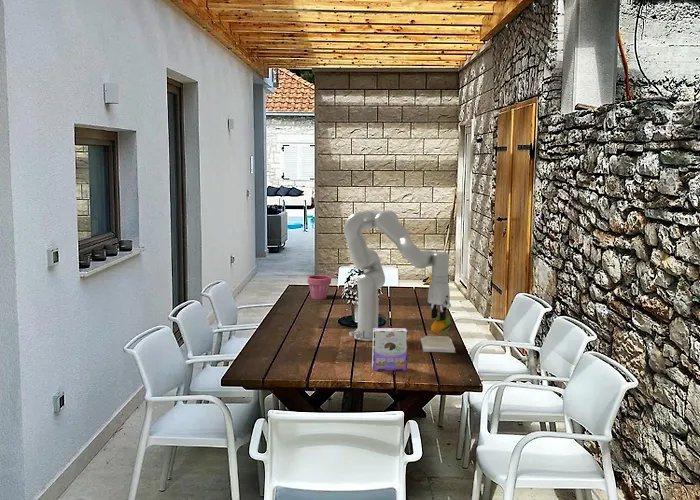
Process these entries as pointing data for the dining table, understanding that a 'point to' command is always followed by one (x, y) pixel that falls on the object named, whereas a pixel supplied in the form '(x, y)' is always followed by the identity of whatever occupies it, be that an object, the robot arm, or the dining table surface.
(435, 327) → the corn
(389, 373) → the dining table surface
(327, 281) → the plant pot
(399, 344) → the candy box
